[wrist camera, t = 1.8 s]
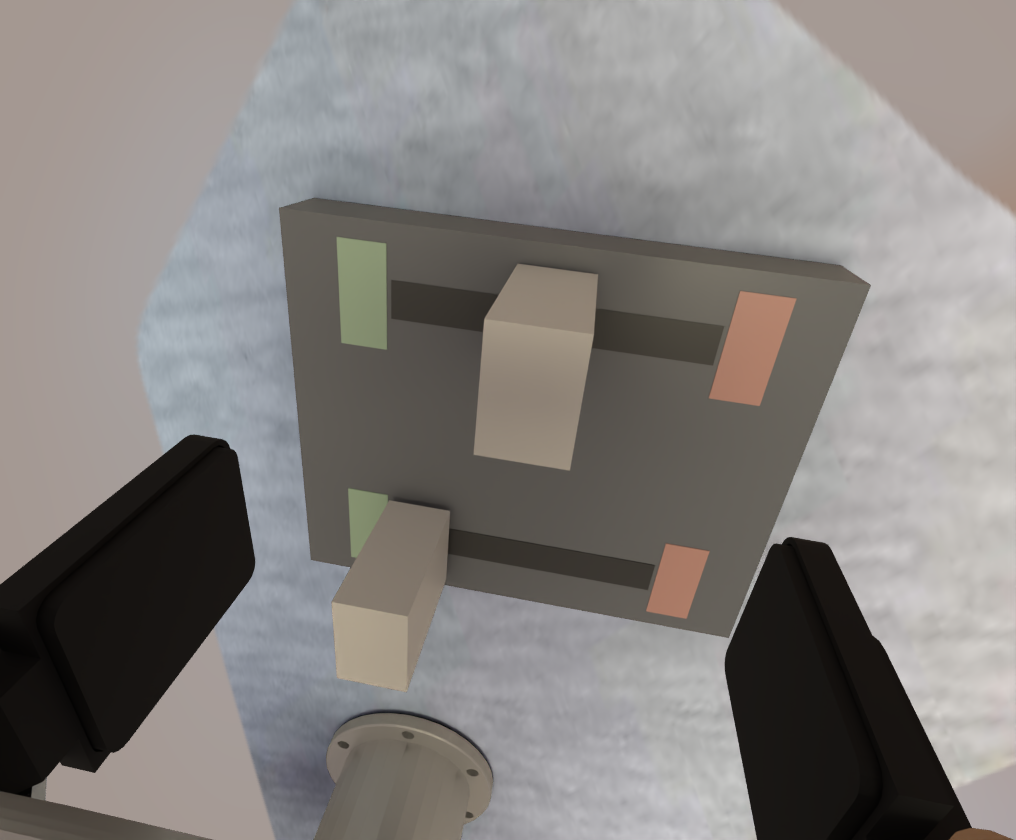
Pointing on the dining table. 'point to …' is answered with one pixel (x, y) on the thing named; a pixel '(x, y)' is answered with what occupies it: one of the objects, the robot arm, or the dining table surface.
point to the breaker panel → (603, 416)
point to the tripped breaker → (535, 366)
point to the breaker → (391, 596)
